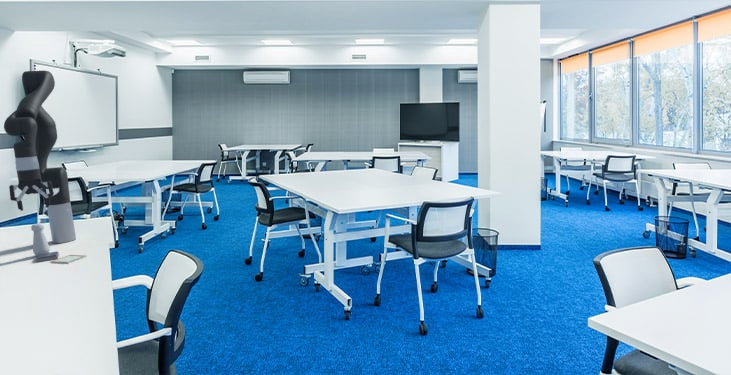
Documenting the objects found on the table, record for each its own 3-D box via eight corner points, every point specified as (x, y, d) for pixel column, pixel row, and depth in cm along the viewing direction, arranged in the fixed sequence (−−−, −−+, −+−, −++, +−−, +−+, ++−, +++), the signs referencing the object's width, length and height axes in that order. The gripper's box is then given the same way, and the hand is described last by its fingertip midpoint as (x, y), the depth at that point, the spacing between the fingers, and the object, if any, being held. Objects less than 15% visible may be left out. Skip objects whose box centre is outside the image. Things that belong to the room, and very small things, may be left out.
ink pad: (38, 258, 196) (37, 254, 195) (58, 254, 199) (58, 250, 198) (36, 262, 189) (35, 258, 189) (57, 258, 193) (57, 254, 192)
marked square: (50, 262, 188) (50, 261, 188) (69, 256, 196) (69, 254, 196) (68, 263, 185) (67, 262, 185) (86, 256, 193) (86, 255, 193)
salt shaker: (54, 253, 202) (49, 222, 200) (43, 257, 196) (38, 225, 194) (40, 253, 203) (35, 222, 201) (30, 257, 197) (24, 226, 195)
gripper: (50, 165, 201) (56, 205, 203) (7, 169, 194) (14, 210, 196) (48, 167, 194) (54, 207, 197) (4, 171, 187) (11, 212, 190)
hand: (34, 208), depth 197 cm, fingers open, 8 cm apart
